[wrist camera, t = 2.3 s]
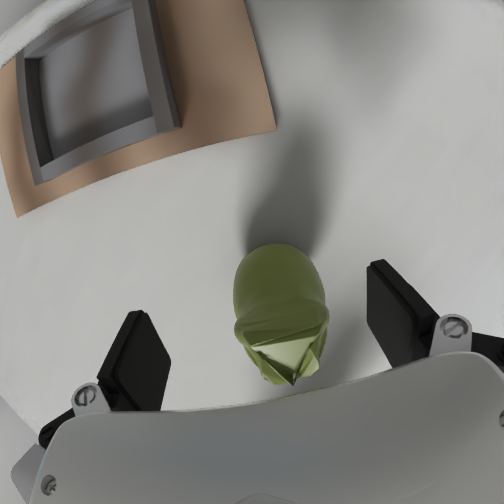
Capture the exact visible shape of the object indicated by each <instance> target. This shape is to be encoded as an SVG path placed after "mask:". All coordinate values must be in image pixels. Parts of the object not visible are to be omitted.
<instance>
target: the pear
mask: <svg viewBox="0 0 504 504" xmlns="http://www.w3.org/2000/svg"><path fill="white" fill-rule="evenodd" d="M233 303H234V310H235V314H236V317H237V321H236V323H235V326H234V332H235V336H236V338H237V339H238V341H239V342H240V343H241V344H242V345H243V346H244V348H245V350H246V352H247V354H248V356H249V357H250V358H251V360H252V361H253V362H254V364H255V365H256V366H257V367H258V368H259V369H260V371H261V375H262V376H263V377H264V379H265V380H267V381H270V382H272V383H273V384H274V385H279V384H284V383H289V384H290V385H291V386H294V385H293V384H295V382H296V380H297V378H300V377H305V376H311V375H312V374H313V373H314V372H315V371H317V370H318V369H319V365H320V363H319V358H320V357H321V354H322V352H323V349H324V346H325V342H326V337H327V325H328V322H329V311H328V309H327V307H326V306H325V293H324V289H323V285H322V282H321V279H320V277H319V274H318V272H317V270H316V268H315V266H314V265H313V263H312V262H311V260H310V259H309V258H308V257H307V255H306V254H305V253H303V252H302V251H301V250H299V249H298V248H296V247H294V246H291V245H288V244H282V243H273V244H267V245H264V246H261V247H258V248H256V249H255V250H253V251H251V252H250V253H249V254H248V255H246V256H245V258H244V259H243V260H242V261H241V263H240V265H239V267H238V269H237V272H236V275H235V280H234V289H233ZM293 378H294V379H293ZM293 381H294V383H293Z"/></svg>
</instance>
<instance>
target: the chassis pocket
mask: <svg viewBox="0 0 504 504" xmlns="http://www.w3.org/2000/svg"><path fill="white" fill-rule="evenodd" d="M276 130H277V129H276V124H275V119H274V115H273V111H272V106H271V102H270V98H269V93H268V89H267V85H266V81H265V77H264V73H263V69H262V65H261V61H260V57H259V53H258V49H257V46H256V42H255V38H254V35H253V31H252V27H251V24H250V20H249V17H248V13H247V10H246V6H245V3H244V0H97V1H95V2H93V3H91V4H89V5H87V6H85V7H84V8H82V9H80V10H78V11H77V12H75V13H73V14H72V15H70V16H68V17H67V18H65V19H64V20H62V21H61V22H59V23H58V24H56V25H55V26H53V27H52V28H50V29H49V30H47V31H46V32H44V33H43V34H42V35H40V36H39V37H38V38H36V39H35V40H34V41H32V42H31V43H30V44H28V45H27V46H26V47H25V48H23V49H22V50H21V51H20V52H19V53H17V54H16V56H15V57H14V58H13V59H12V60H11V61H9V62H8V63H7V64H6V65H5V66H4V67H3V68H2V69H1V70H0V155H1V160H2V164H3V169H4V173H5V178H6V182H7V185H8V189H9V193H10V197H11V200H12V203H13V207H14V210H15V213H16V216H17V218H18V217H20V216H22V215H24V214H26V213H28V212H30V211H32V210H34V209H36V208H38V207H40V206H42V205H44V204H46V203H48V202H50V201H52V200H55V199H57V198H59V197H61V196H63V195H66V194H68V193H70V192H72V191H75V190H77V189H79V188H82V187H84V186H87V185H89V184H92V183H94V182H97V181H99V180H102V179H104V178H107V177H109V176H112V175H115V174H117V173H120V172H123V171H126V170H129V169H131V168H134V167H137V166H140V165H143V164H146V163H149V162H152V161H155V160H159V159H162V158H165V157H168V156H172V155H175V154H178V153H182V152H185V151H189V150H192V149H196V148H200V147H204V146H207V145H211V144H215V143H219V142H224V141H228V140H232V139H236V138H241V137H245V136H250V135H255V134H260V133H265V132H270V131H276Z"/></svg>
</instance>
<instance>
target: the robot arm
mask: <svg viewBox="0 0 504 504" xmlns="http://www.w3.org/2000/svg"><path fill="white" fill-rule="evenodd" d="M367 323H368V326H369V327H370V329H371V331H372V333H373V334H374V336H375V338H376V339H377V341H378V343H379V345H380V346H381V348H382V350H383V352H384V354H385V355H386V357H387V359H388V361H389V363H390V364H391V366H392V369H389V370H386V371H383V372H380V373H377V374H374V375H370V376H367V377H364V378H360V379H357V380H353V381H350V382H346V383H343V384H339V385H335V386H331V387H327V388H323V389H319V390H315V391H311V392H306V393H301V394H297V395H292V396H287V397H282V398H276V399H271V400H265V401H258V402H252V403H245V404H238V405H230V406H221V407H211V408H200V409H187V410H168V411H160V410H161V405H162V401H163V396H164V392H165V387H166V383H167V379H168V375H169V371H170V366H171V359H170V356H169V355H168V353H167V351H166V349H165V347H164V345H163V343H162V341H161V339H160V337H159V335H158V333H157V331H156V329H155V327H154V325H153V323H152V321H151V319H150V317H149V315H148V314H147V313H144V312H143V311H142V310H138V311H131V312H129V313H128V315H127V317H126V319H125V321H124V323H123V324H122V326H121V328H120V330H119V332H118V334H117V336H116V338H115V340H114V342H113V344H112V346H111V348H110V350H109V352H108V354H107V356H106V358H105V360H104V363H103V365H102V367H101V369H100V371H99V373H98V375H97V379H98V380H99V382H98V384H96V383H86V384H84V385H82V386H80V387H79V388H78V389H77V390H76V391H75V392H74V394H73V396H72V399H71V402H72V406H73V408H71V409H70V410H68V411H67V412H65V413H64V414H62V415H61V416H59V417H57V418H56V419H54V420H53V421H51V422H50V423H48V424H47V425H45V426H44V427H43V428H42V429H41V431H40V434H39V445H38V444H37V443H35V444H34V445H33V446H32V447H31V448H30V449H29V450H28V451H27V452H26V453H25V454H24V456H23V457H22V458H21V459H20V460H19V461H18V462H17V463H16V464H15V465H14V467H13V468H12V471H11V478H12V481H13V482H14V484H15V486H16V488H17V489H18V491H19V492H20V494H21V495H22V497H23V499H24V500H25V502H26V504H504V338H500V337H495V336H490V335H485V334H480V333H475V332H472V325H471V323H470V322H469V321H468V320H467V319H466V318H465V317H463V316H461V315H457V314H448V315H444V316H442V317H440V316H439V315H438V314H437V313H436V312H435V311H434V310H433V309H432V308H431V306H430V305H429V304H428V303H427V302H426V301H425V300H424V299H423V298H422V297H421V296H420V294H419V293H418V292H417V291H416V290H415V289H414V288H413V287H412V286H411V285H410V284H408V283H407V282H406V281H405V280H404V279H403V278H402V276H401V275H400V274H399V273H398V272H397V271H396V270H395V269H394V268H393V267H392V266H391V265H390V264H389V263H388V262H387V261H386V260H384V259H381V260H377V261H373V262H371V263H370V266H368V267H367Z"/></svg>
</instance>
